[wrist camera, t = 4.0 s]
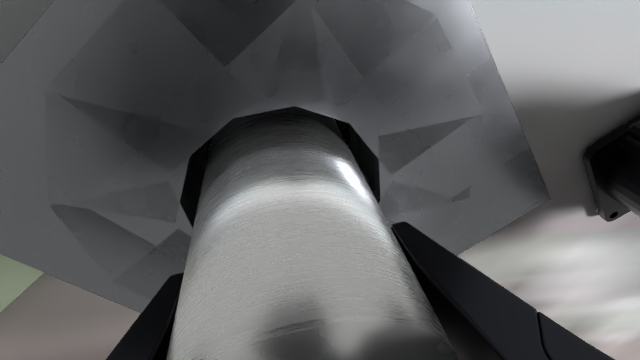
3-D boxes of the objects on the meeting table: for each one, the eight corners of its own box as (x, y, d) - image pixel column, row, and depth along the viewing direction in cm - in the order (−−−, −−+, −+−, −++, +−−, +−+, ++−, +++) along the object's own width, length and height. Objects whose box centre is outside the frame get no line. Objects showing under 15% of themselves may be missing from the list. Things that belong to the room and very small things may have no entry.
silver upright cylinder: (365, 133, 13) (515, 361, 6) (294, 218, 15) (339, 474, 8) (255, 59, 11) (269, 280, 3) (187, 170, 13) (101, 471, 5)
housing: (487, 147, 16) (550, 198, 12) (268, 296, 19) (272, 367, 16) (298, -219, 8) (330, -336, 5) (-11, 134, 11) (-116, 206, 8)
